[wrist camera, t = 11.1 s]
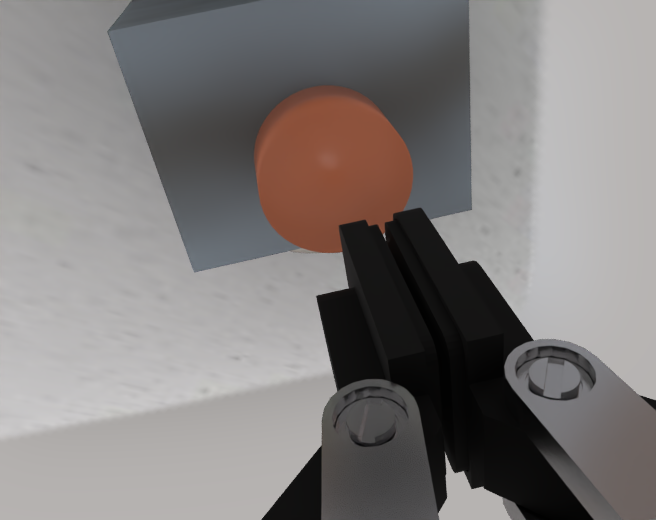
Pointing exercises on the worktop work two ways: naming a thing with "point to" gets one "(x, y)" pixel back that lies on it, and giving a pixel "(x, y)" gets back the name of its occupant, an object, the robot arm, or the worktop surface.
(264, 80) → the rail stand
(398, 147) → the button
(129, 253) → the worktop surface
